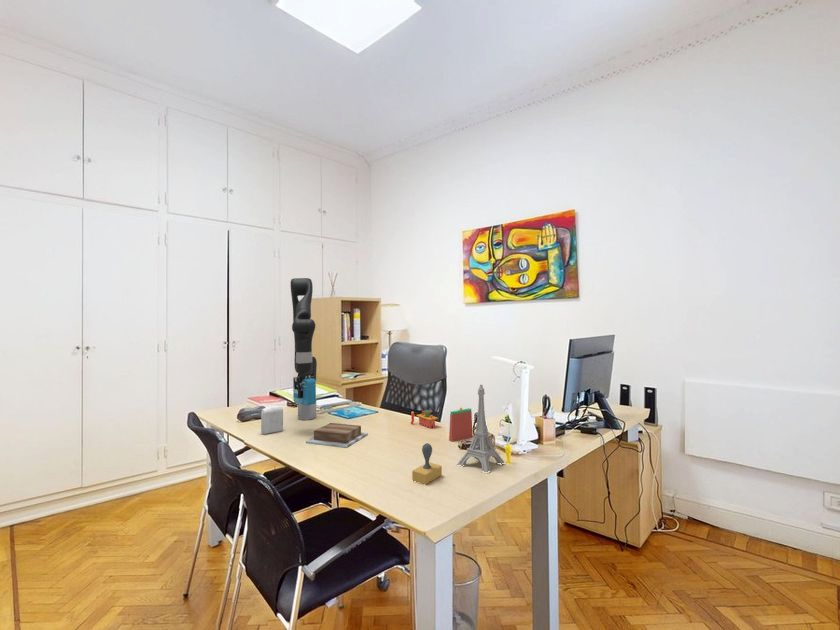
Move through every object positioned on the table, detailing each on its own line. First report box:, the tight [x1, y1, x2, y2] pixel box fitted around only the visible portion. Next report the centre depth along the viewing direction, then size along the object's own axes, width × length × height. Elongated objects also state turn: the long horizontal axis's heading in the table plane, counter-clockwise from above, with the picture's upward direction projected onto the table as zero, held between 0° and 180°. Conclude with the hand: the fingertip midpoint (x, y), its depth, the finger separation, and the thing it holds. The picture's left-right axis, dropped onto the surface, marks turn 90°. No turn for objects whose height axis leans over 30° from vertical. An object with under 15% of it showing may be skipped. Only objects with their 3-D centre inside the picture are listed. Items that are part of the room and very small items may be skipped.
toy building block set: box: [410, 407, 474, 442], centre depth 201 cm, size 12×35×14 cm, turn 35°
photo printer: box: [260, 405, 284, 435], centre depth 198 cm, size 10×4×12 cm, turn 134°
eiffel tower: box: [456, 384, 505, 472], centre depth 156 cm, size 13×13×30 cm
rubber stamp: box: [411, 442, 443, 485], centre depth 143 cm, size 10×6×12 cm, turn 144°
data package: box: [292, 378, 317, 406], centre depth 197 cm, size 12×4×12 cm, turn 50°
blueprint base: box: [305, 422, 369, 449], centre depth 187 cm, size 20×20×5 cm
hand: (304, 396), depth 197 cm, fingers closed on data package, 5 cm apart
